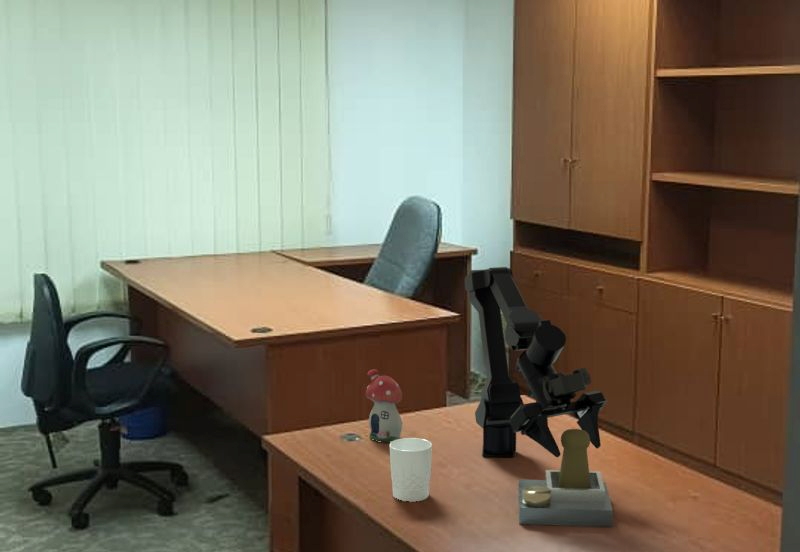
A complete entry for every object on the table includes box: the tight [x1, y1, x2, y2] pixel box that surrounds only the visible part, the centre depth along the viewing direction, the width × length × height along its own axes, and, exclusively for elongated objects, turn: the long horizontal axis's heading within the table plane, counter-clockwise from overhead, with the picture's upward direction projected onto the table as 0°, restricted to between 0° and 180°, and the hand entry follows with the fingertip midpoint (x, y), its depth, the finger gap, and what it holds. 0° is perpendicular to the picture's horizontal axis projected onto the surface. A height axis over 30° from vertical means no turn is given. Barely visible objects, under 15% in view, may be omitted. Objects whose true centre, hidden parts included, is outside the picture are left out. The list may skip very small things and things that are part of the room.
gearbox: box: [517, 469, 614, 528], centre depth 190 cm, size 16×14×5 cm
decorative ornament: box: [365, 368, 403, 443], centre depth 231 cm, size 9×7×15 cm
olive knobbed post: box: [558, 428, 591, 489], centre depth 191 cm, size 6×6×11 cm
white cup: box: [389, 437, 433, 503], centre depth 197 cm, size 8×8×10 cm
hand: (579, 451), depth 189 cm, fingers open, 9 cm apart
